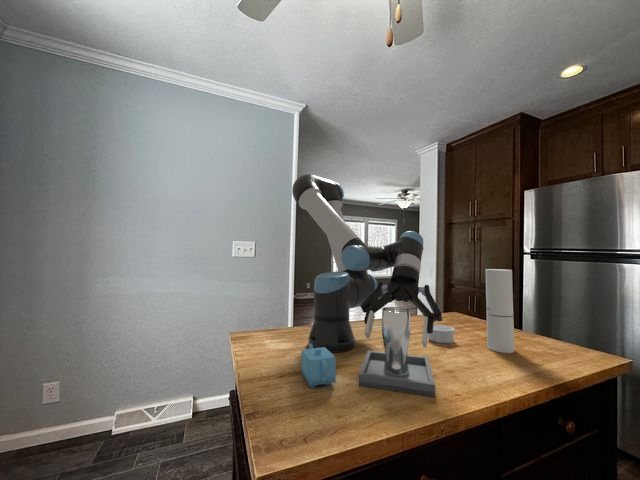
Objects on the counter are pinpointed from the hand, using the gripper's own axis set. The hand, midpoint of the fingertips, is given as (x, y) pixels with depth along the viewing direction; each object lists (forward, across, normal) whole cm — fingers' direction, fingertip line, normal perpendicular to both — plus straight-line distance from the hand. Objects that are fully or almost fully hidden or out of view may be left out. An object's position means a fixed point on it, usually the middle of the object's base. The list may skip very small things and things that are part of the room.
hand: (394, 339), depth 65 cm
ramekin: (-20, -7, -34) cm, 40 cm away
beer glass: (+4, 0, -8) cm, 9 cm away
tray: (+5, 0, -8) cm, 9 cm away
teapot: (+13, +16, 0) cm, 21 cm away
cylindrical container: (-20, -25, -33) cm, 46 cm away
